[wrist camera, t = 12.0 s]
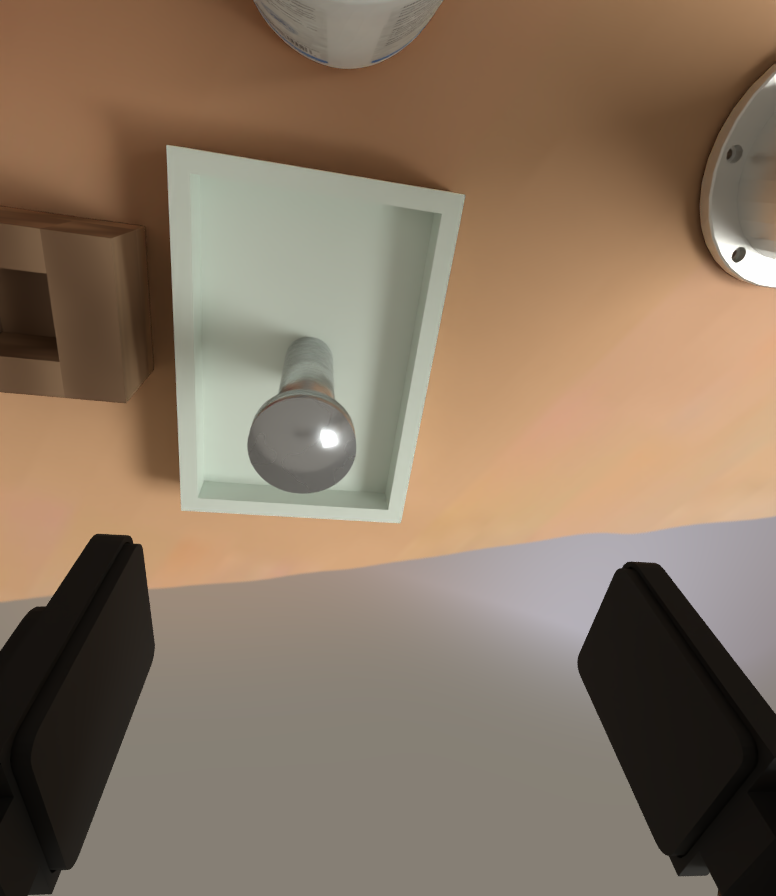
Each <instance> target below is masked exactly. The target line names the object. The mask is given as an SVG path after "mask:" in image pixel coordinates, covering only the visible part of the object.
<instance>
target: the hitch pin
mask: <svg viewBox="0 0 776 896" xmlns="http://www.w3.org/2000/svg"><path fill="white" fill-rule="evenodd" d="M247 449H248V455H249V459H250V461H251V464H252V466H253V467H254V469H255V470H256V472H257V473H258V474H259V475H260V476H261V478H263V479H264V480H265V481H266V482H267V483H269V484H270V485H272V486H274V487H276V488H278V489H280V490H283V491H286V492H291V493H298V494H308V493H315V492H319V491H322V490H325V489H328V488H330V487H332V486H333V485H335V484H337V483H338V482H339V481H340V480H342V479H343V478H344V477H345V475H346V474H347V473H348V472H349V470H350V468H351V467H352V465H353V462H354V460H355V455H356V437H355V429H354V425H353V422H352V419H351V417H350V416H349V414H348V412H347V411H346V410H345V408H344V407H343V406H342V405H341V404H340V403H339V402H337V401H336V400H335V392H334V369H333V356H332V352H331V350H330V348H329V347H328V346H327V345H326V343H324V342H323V341H321V340H320V339H317V338H314V337H303V338H299V339H297V340H295V341H294V342H293V343H292V344H291V345H290V346H289V348H288V349H287V352H286V356H285V360H284V365H283V370H282V375H281V380H280V385H279V390H278V395H276V396H274V397H272V398H270V399H269V400H268V401H266V402H265V403H264V404H263V405H262V406H261V407H260V409H259V410H258V411H257V413H256V415H255V417H254V419H253V421H252V425H251V428H250V432H249V436H248V442H247Z"/></svg>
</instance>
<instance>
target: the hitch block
mask: <svg viewBox="0 0 776 896" xmlns="http://www.w3.org/2000/svg"><path fill="white" fill-rule="evenodd" d="M153 370H154V366H153V349H152V333H151V317H150V300H149V284H148V268H147V252H146V235H145V226H138V225H131V224H124V223H117V222H110V221H103V220H96V219H89V218H82V217H75V216H68V215H61V214H54V213H46V212H39V211H32V210H25V209H18V208H11V207H4V206H0V392H5V393H16V394H28V395H39V396H50V397H61V398H73V399H84V400H95V401H106V402H118V403H127V401H128V400H129V399H130V398H131V397H132V395H133V394H134V393H135V392H136V391H137V389H138V388H139V387H140V386H141V384H142V383H143V382H144V381H145V380H146V378H147V377H148V376H149V375H150V374H151V372H152V371H153Z"/></svg>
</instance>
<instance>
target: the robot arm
mask: <svg viewBox="0 0 776 896" xmlns="http://www.w3.org/2000/svg"><path fill="white" fill-rule="evenodd" d="M700 220H701V228H702V232H703V235H704V239H705V243H706V246H707V247H708V249H709V251H710V253H711V255H712V256H713V258H714V260H715V261H716V262H717V263H718V264H719V265H720V266H721V267H722V268H723V269H724V270H725V271H726V272H727V273H728V274H730V275H732V276H733V277H735V278H737V279H739V280H740V281H744V282H747V283H750V284H753V285H756V286H762V287H769V288H776V63H775V64H774V65H772V66H771V67H770V68H769V69H768V70H767V71H766V72H765V73H764V74H763V75H762V76H761V77H760V78H759V79H758V80H757V81H756V82H755V83H754V84H753V85H752V86H751V87H750V88H749V89H748V91H747V92H746V93H745V94H744V96H743V97H742V98H741V99H740V101H739V102H738V103H737V105H736V106H735V107H734V108H733V110H732V112H731V113H730V115H729V117H728V118H727V120H726V122H725V124H724V125H723V127H722V129H721V130H720V132H719V134H718V136H717V139H716V141H715V143H714V146H713V148H712V151H711V153H710V155H709V158H708V161H707V165H706V169H705V173H704V176H703V180H702V186H701V196H700ZM154 649H155V643H154V635H153V627H152V619H151V611H150V603H149V596H148V587H147V579H146V571H145V563H144V555H143V548H142V546H141V544H133V540H132V538H131V536H128V535H109V534H96V535H94V536H93V537H92V538H91V539H90V541H89V543H88V544H87V546H86V547H85V549H84V550H83V552H82V553H81V555H80V556H79V558H78V559H77V561H76V562H75V564H74V565H73V567H72V568H71V570H70V571H69V573H68V574H67V576H66V577H65V579H64V580H63V582H62V583H61V585H60V586H59V588H58V589H57V591H56V592H55V594H54V595H53V597H52V598H51V600H50V601H49V603H48V604H47V606H46V607H35V608H33V609H32V610H30V611H29V612H28V614H27V615H26V616H25V617H24V618H23V619H22V621H21V622H20V624H19V625H18V627H17V628H16V629H15V631H14V632H13V634H12V635H11V637H10V638H9V639H8V641H7V642H6V644H5V645H4V647H3V648H2V649H1V651H0V896H28V895H39V894H52V892H53V890H54V887H55V884H56V882H57V880H58V877H59V875H60V872H61V870H69V869H71V868H72V867H73V865H74V864H75V862H76V860H77V858H78V856H79V853H80V851H81V848H82V846H83V843H84V840H85V838H86V835H87V832H88V830H89V827H90V824H91V822H92V819H93V817H94V814H95V811H96V809H97V806H98V804H99V801H100V798H101V796H102V793H103V790H104V788H105V785H106V783H107V780H108V777H109V775H110V772H111V769H112V767H113V764H114V761H115V759H116V756H117V754H118V751H119V748H120V746H121V743H122V740H123V738H124V735H125V732H126V730H127V727H128V725H129V722H130V719H131V717H132V714H133V712H134V709H135V706H136V704H137V701H138V698H139V696H140V693H141V691H142V688H143V685H144V683H145V680H146V677H147V675H148V672H149V669H150V667H151V664H152V661H153V656H154ZM578 670H579V673H580V676H581V678H582V681H583V683H584V685H585V687H586V689H587V692H588V694H589V696H590V698H591V700H592V703H593V705H594V707H595V709H596V711H597V714H598V716H599V718H600V720H601V722H602V725H603V727H604V729H605V731H606V734H607V735H608V738H609V740H610V742H611V745H612V747H613V749H614V751H615V753H616V756H617V758H618V760H619V762H620V764H621V767H622V769H623V771H624V773H625V775H626V778H627V780H628V782H629V784H630V786H631V788H632V791H633V793H634V795H635V798H636V800H637V802H638V804H639V806H640V809H641V811H642V813H643V815H644V817H645V820H646V822H647V824H648V826H649V828H650V831H651V833H652V835H653V837H654V839H655V842H656V843H657V845H658V847H659V849H660V850H661V851H662V852H663V853H664V854H665V855H668V856H669V857H670V859H671V862H672V864H673V866H674V868H675V870H676V873H677V875H678V876H703V875H704V876H705V875H708V874H709V873H710V874H711V876H712V877H713V880H714V881H715V883H716V885H717V887H718V895H717V896H776V714H775V713H774V711H773V710H772V709H771V708H770V706H769V705H768V704H767V702H766V701H765V700H764V699H763V697H762V696H761V695H760V693H759V692H758V691H757V689H756V688H755V687H754V686H753V685H752V683H751V682H750V680H749V679H748V678H747V676H746V675H745V674H744V673H743V671H742V670H741V669H740V667H739V666H738V665H737V663H736V662H735V661H734V660H733V658H732V657H731V656H730V654H729V653H728V652H727V651H726V649H725V648H724V647H723V645H722V644H721V643H720V641H719V640H718V639H717V638H716V636H715V635H714V634H713V632H712V631H711V630H710V629H709V627H708V626H707V625H706V623H705V622H704V621H703V619H702V618H701V617H700V616H699V614H698V613H697V612H696V610H695V609H694V608H693V607H692V605H691V604H690V603H689V601H688V600H687V599H686V597H685V596H684V595H683V594H682V592H681V591H680V590H679V589H678V587H677V586H676V584H675V583H674V582H673V581H672V579H671V578H670V577H669V575H668V574H667V573H666V572H665V570H664V569H663V568H662V567H661V566H660V565H659V564H656V563H646V562H627V563H626V564H625V565H624V566H623V567H622V568H621V569H618V570H617V571H616V572H615V574H614V576H613V578H612V581H611V583H610V585H609V588H608V590H607V592H606V594H605V597H604V599H603V601H602V603H601V606H600V608H599V610H598V613H597V615H596V617H595V619H594V622H593V624H592V626H591V628H590V631H589V633H588V635H587V637H586V640H585V642H584V644H583V646H582V649H581V651H580V653H579V656H578Z"/></svg>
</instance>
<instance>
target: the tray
mask: <svg viewBox="0 0 776 896" xmlns="http://www.w3.org/2000/svg"><path fill="white" fill-rule="evenodd" d="M166 151H167V175H168V199H169V224H170V248H171V272H172V296H173V321H174V345H175V369H176V394H177V418H178V442H179V467H180V491H181V510H182V511H199V512H216V513H233V514H250V515H267V516H285V517H302V518H319V519H336V520H353V521H370V522H388V523H401V519H402V514H403V509H404V504H405V499H406V494H407V489H408V483H409V478H410V473H411V468H412V463H413V458H414V453H415V448H416V443H417V438H418V433H419V428H420V423H421V418H422V413H423V408H424V402H425V397H426V392H427V387H428V382H429V377H430V372H431V367H432V362H433V357H434V352H435V347H436V342H437V337H438V332H439V327H440V322H441V316H442V311H443V306H444V301H445V296H446V291H447V286H448V281H449V276H450V271H451V266H452V261H453V256H454V251H455V246H456V241H457V235H458V230H459V225H460V220H461V215H462V210H463V205H464V200H465V195H464V194H460V193H455V192H450V191H444V190H438V189H432V188H426V187H420V186H414V185H408V184H402V183H396V182H390V181H384V180H378V179H372V178H367V177H361V176H355V175H349V174H343V173H337V172H331V171H325V170H319V169H313V168H307V167H301V166H295V165H289V164H283V163H277V162H271V161H265V160H259V159H253V158H247V157H241V156H235V155H229V154H223V153H217V152H211V151H205V150H199V149H193V148H187V147H181V146H172V145H166ZM303 337H314V338H317V339H320V340H321V341H323V342H324V343H326V345H327V346H328V347H329V348H330V350H331V352H332V356H333V369H334V392H335V400H336V401H337V402H339V403H340V404H341V405H342V406H343V407H344V408H345V410H346V411H347V412H348V414H349V416H350V417H351V419H352V422H353V425H354V429H355V437H356V455H355V460H354V462H353V465H352V467H351V468H350V470H349V472H348V473H347V474H346V475H345V477H344V478H343V479H342V480H340V481H339V482H338V483H337V484H335V485H333V486H332V487H330V488H328V489H325V490H322V491H319V492H315V493H308V494H298V493H291V492H286V491H283V490H280V489H278V488H276V487H274V486H272V485H270V484H269V483H267V482H266V481H265V480H264V479H263V478H261V476H260V475H259V474H258V473H257V472H256V470H255V469H254V467H253V466H252V464H251V461H250V459H249V455H248V449H247V442H248V436H249V432H250V428H251V425H252V421H253V419H254V417H255V415H256V413H257V411H258V410H259V409H260V407H261V406H262V405H263V404H264V403H265V402H266V401H268V400H269V399H270V398H272V397H274V396H276V395H278V390H279V385H280V380H281V375H282V370H283V365H284V360H285V356H286V352H287V349H288V348H289V346H290V345H291V344H292V343H293V342H294V341H295V340H297V339H299V338H303Z"/></svg>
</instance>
